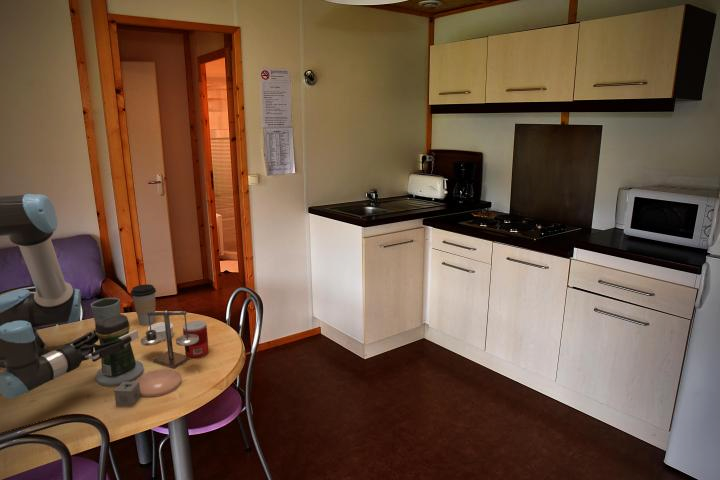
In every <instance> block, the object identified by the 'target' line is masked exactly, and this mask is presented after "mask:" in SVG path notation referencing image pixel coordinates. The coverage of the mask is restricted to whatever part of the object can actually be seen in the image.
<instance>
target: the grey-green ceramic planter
mask: <svg viewBox="0 0 720 480" xmlns="http://www.w3.org/2000/svg"><path fill="white" fill-rule="evenodd" d="M90 308H91V312H92V314H93V321H94V324H95V323H96V322H98V321H101V320H104V319H107V318H109V317H112V316H115V315H117V314H121V300H120V298H118V297H105V298H100V299H97V300H95V301H92V303H90Z"/></svg>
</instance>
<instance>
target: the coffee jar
mask: <svg viewBox="0 0 720 480" xmlns="http://www.w3.org/2000/svg"><path fill="white" fill-rule="evenodd" d="M94 325H95V326H94V327H95V330H96V335H97V336H98V338H99V340H98V341H99V345H100V344H103V343H107V342H111V341H115V340H119V338H120V337H122V336H124V335H126V334H128V333H130V329H131V328H130V326H131V325H130V322H129V319H128V316H127V315H125V314H121V313H120V314H117V315H115V316H112V317H109V318H107V319H104V320H101V321H98V322H96V323H95V322H94ZM124 346H125V349H124V350H122V351H119V352H116V353H114V354H111V355H108V356H106V357H103V358H101V359H100V361H101V368H102V372H103V374H105V375H106V376H111V377H115V376H119V375H121V374H123V373H125V372H128V371H130V370H131V369H133V368H134V367H135V366H136V362H135V360H136V358H135V354H134V351H133V347H132V344H131V342H129V343H127V344H125V345H124Z"/></svg>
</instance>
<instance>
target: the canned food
mask: <svg viewBox="0 0 720 480" xmlns="http://www.w3.org/2000/svg"><path fill="white" fill-rule="evenodd" d="M186 324H187V334H195V335H198V336H199V341H198V342H197V343H195V344H193V345H189V346H184V351H185V354H184V355H186V356H190V359H199V358H202V357H205V356H207V354H208V353H209V350H210V349H209V337H208V328H207V326H208V325H207V322H206V321H204V320H191V321H188V322H186ZM182 333H183V335H186V327H185V324H183V326H182Z"/></svg>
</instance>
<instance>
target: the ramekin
mask: <svg viewBox="0 0 720 480" xmlns="http://www.w3.org/2000/svg"><path fill="white" fill-rule="evenodd" d="M173 327H174V325H173V323H172V322H170V328H171V337H173V334H174V333H173V332H174V330H173ZM149 330H150V326H148V328H147V331H149ZM151 330H155V331H156V334H159V335H162V336H163V341H162V342H164V341H167V338H166V330H165V321H162V322H156V323H152V324H151Z"/></svg>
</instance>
